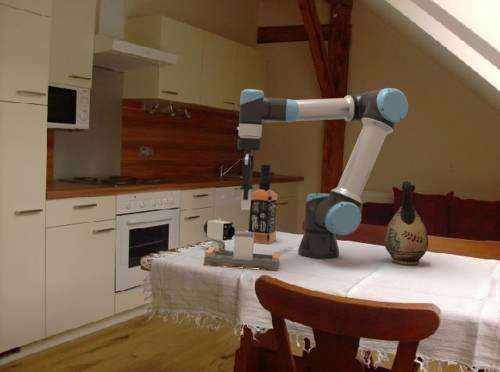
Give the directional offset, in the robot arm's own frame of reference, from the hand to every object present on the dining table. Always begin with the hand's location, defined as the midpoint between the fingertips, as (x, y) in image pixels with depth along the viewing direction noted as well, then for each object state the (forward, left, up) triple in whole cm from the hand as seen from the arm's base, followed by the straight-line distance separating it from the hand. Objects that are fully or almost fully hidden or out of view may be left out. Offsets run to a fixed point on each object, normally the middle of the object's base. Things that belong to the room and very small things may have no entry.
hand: (245, 209), depth 172 cm
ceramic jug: (-57, -22, -19) cm, 64 cm away
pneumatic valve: (+11, -19, -19) cm, 29 cm away
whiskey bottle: (-3, -44, -19) cm, 48 cm away
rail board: (0, 0, -18) cm, 18 cm away
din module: (0, 0, -17) cm, 17 cm away
